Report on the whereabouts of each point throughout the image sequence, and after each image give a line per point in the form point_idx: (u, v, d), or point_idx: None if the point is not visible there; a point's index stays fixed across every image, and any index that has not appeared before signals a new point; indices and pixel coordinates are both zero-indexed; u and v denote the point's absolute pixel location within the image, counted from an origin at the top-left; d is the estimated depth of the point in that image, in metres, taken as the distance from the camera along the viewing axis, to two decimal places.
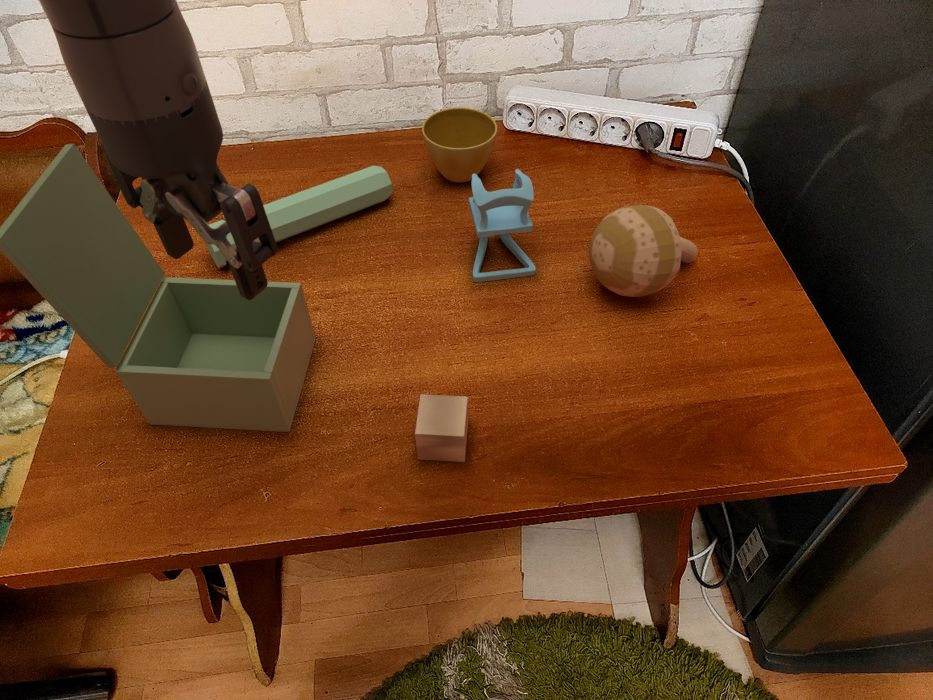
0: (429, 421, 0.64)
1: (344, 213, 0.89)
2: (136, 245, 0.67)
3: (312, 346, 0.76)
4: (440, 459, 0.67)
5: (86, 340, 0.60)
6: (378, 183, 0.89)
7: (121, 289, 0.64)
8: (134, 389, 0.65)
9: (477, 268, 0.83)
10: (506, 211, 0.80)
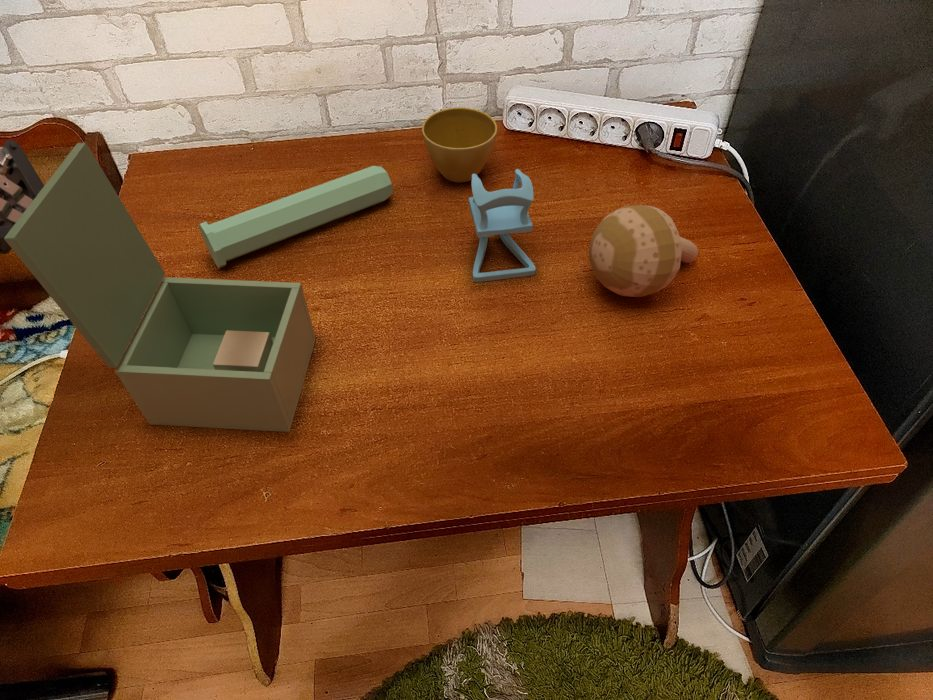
0: (228, 353, 0.69)
1: (344, 213, 0.89)
2: (139, 245, 0.67)
3: (312, 346, 0.76)
4: None
5: (89, 340, 0.60)
6: (378, 183, 0.89)
7: (124, 289, 0.64)
8: (134, 389, 0.65)
9: (477, 268, 0.83)
10: (506, 211, 0.80)
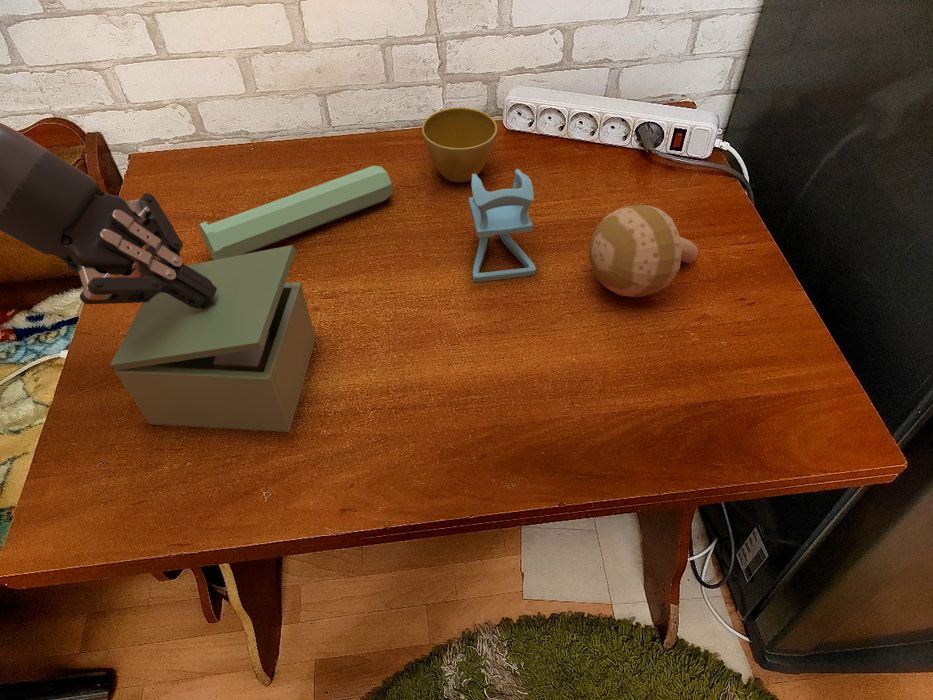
0: None
1: (344, 213, 0.89)
2: None
3: (312, 346, 0.76)
4: None
5: (147, 362, 0.62)
6: (378, 183, 0.89)
7: None
8: (134, 389, 0.65)
9: (477, 268, 0.83)
10: (506, 211, 0.80)
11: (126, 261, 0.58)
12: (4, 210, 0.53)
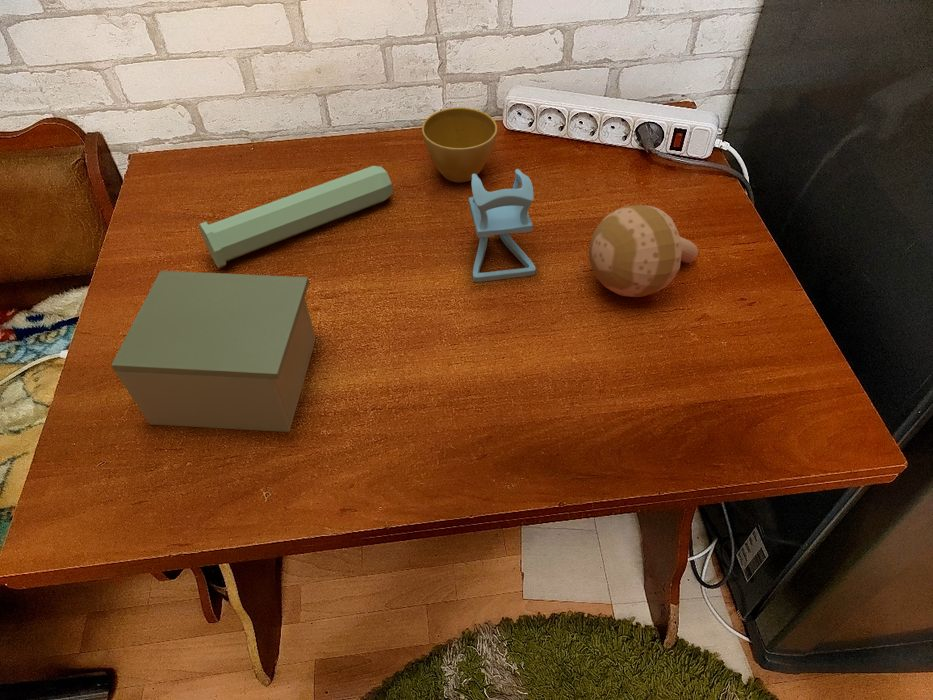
0: None
1: (344, 213, 0.89)
2: None
3: (312, 346, 0.76)
4: None
5: (153, 370, 0.63)
6: (378, 183, 0.89)
7: None
8: (134, 389, 0.65)
9: (477, 268, 0.83)
10: (506, 211, 0.80)
11: None
12: None
